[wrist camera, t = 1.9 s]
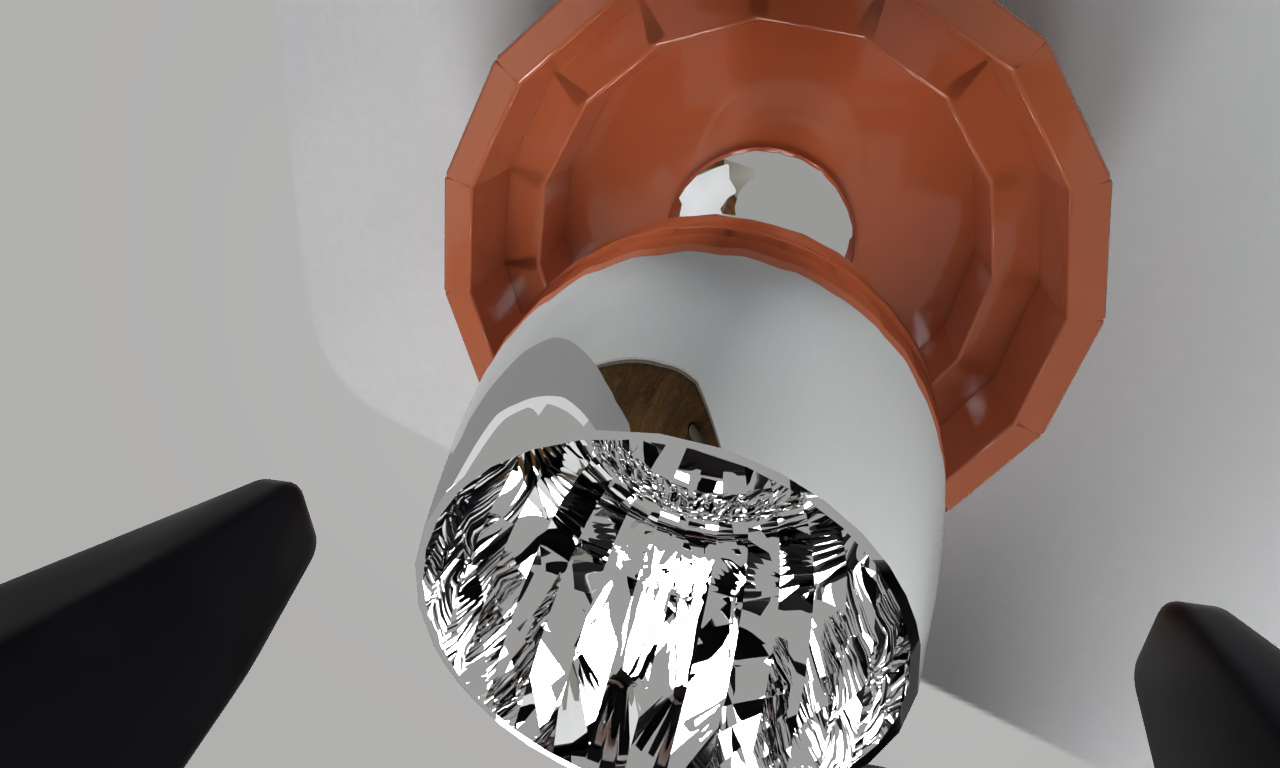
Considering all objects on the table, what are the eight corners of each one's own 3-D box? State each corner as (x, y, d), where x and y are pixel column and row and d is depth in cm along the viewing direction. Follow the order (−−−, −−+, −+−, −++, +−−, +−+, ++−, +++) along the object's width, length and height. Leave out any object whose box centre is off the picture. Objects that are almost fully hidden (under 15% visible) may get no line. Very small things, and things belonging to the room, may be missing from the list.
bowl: (926, 501, 19) (948, 611, 16) (505, 394, 21) (442, 473, 17) (1161, -4, 13) (1280, -1, 10) (534, -106, 14) (445, -136, 11)
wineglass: (611, 147, 16) (254, 408, 6) (871, 85, 14) (983, 306, 4) (669, 366, 19) (482, 815, 9) (897, 337, 17) (1008, 861, 7)
